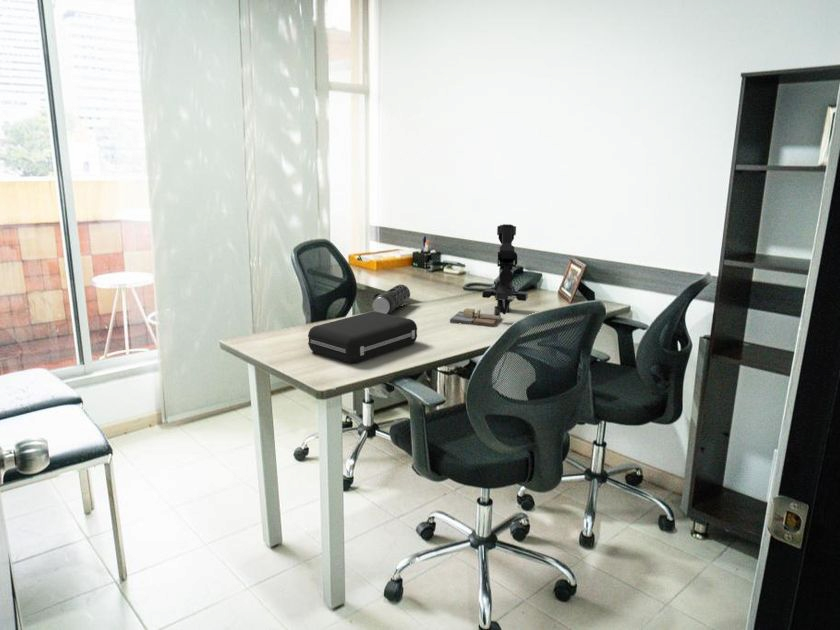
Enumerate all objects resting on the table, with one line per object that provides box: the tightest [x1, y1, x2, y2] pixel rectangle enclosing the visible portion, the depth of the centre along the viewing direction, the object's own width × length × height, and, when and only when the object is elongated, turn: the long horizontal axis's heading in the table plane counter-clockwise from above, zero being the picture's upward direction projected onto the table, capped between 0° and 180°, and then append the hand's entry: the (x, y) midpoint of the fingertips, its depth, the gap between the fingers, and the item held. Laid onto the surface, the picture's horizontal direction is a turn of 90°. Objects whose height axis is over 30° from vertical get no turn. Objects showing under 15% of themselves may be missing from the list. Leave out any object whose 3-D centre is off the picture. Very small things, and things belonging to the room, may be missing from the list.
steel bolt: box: [480, 305, 501, 319], centre depth 270 cm, size 2×8×5 cm, turn 70°
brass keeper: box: [463, 307, 482, 319], centre depth 273 cm, size 4×7×3 cm, turn 70°
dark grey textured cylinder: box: [371, 284, 411, 315], centre depth 287 cm, size 10×28×10 cm, turn 163°
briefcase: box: [307, 310, 418, 364], centre depth 235 cm, size 36×32×10 cm
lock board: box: [449, 310, 502, 328], centre depth 273 cm, size 15×19×2 cm
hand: (504, 314), depth 268 cm, fingers closed
